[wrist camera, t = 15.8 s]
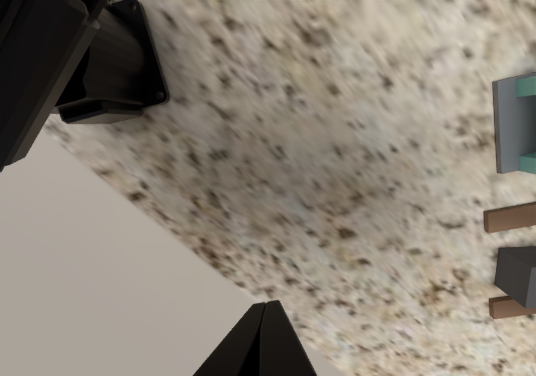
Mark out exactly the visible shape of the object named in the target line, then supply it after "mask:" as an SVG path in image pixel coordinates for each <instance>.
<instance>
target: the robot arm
mask: <svg viewBox="0 0 536 376" xmlns="http://www.w3.org/2000/svg"><path fill="white" fill-rule="evenodd" d="M107 1H108V2H110V0H0V172H2V170H3V168H4V167H5V166H7V165H10V164H12V163H14V162H16V161H18V160H20V159H22V158H24V157H25V156H26V155H27V153H28V151H29V150H30V148H31V146H32V144H33V143H34V140H35V139H36V137H37V135H38V134H39V132H40V130H41V129H42V127H43V125H44V123H45V122H46V120H47V118H48V116H49V115H50V114H60V117H61V119H62V121H63V122H65V123H67V124H111V123H115V122H119V121H123V120H126V119H130V118H134V117H138V116H141V115H142V114H143V109H146V108H149V107H153V106H157V105H161V104H165V103H167V102H168V100H169V92H168V89H167V86H166V82H165V79H164V76H163V72H162V69H161V66H160V62H159V59H158V56H157V52H156V49H155V46H154V42H153V39H152V36H151V32H150V29H149V26H148V22H147V19H146V16H145V12H144V9H143V6H142V4H141V3H140V2H139V1H138V0H122V1H119V2H116V3H113V4H109V3H108V2H107ZM134 5H136V10H135V11H132V7H133V6H134ZM161 92H162V93H163V99H160V98H159V94H160V93H161ZM193 376H317V374H316V372H315V370H314V368H313V366H312V364H311V362H310V361H309V358H308V356H307V354H306V352H305V350H304V348H303V346H302V344H301V342H300V340H299V338H298V336H297V334H296V332H295V330H294V328H293V326H292V324H291V322H290V320H289V319H288V317H287V315H286V313H285V311H284V309H283V307H282V305H281V303H280V301H279V300H275V301H269V302H267V303H265V302H262V303H256V304H253V305H252V306H251V307H250V308H249V309H248V311H247V312H246V313H245V314H244V315H243V317H242V318H241V319H240V320H239V321H238V323H237V324H236V325H235V326H234V327H233V328H232V330H231V331H230V332H229V333H228V334H227V336H226V337H225V338H224V339H223V340H222V341H221V343H220V344H219V345H218V346H217V348H216V349H215V350H214V351H213V352H212V353H211V354H210V356H209V357H208V358H207V359H206V360H205V362H204V363H203V364H202V365H201V367H200V368H199V369H198V370H197V371H196V372H195V374H194V375H193Z"/></svg>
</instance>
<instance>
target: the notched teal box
mask: <svg viewBox="0 0 536 376" xmlns="http://www.w3.org/2000/svg"><path fill="white" fill-rule="evenodd" d="M515 84H516V97H521V96H530V95H536V76H532V77H528V78H524V79H520V80H516V81H515ZM519 171H523V172H528V173H533V174H536V152H535V153H530V154H526V155H521V156H519Z"/></svg>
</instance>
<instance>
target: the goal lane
mask: <svg viewBox="0 0 536 376" xmlns="http://www.w3.org/2000/svg"><path fill="white" fill-rule="evenodd" d="M484 222H485V231H486V232H488V233H493V232H499V231H505V230H510V229H516V228H522V227H528V226H533V225H536V202H534V203H528V204H523V205H517V206H512V207H506V208H501V209H496V210H490V211H485V212H484ZM489 303H490V316H491V317H492V318H493V319H500V318H507V317H514V316H522V315H529V314H536V308H526V309H525V308H524V307H523V306H521V305H520V304H519V303H518V302H516V301H515V300H514V299H512V298H511V297H510V296H507V297H500V298H493V299H489Z"/></svg>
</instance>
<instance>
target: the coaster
mask: <svg viewBox="0 0 536 376" xmlns="http://www.w3.org/2000/svg"><path fill="white" fill-rule="evenodd" d="M532 76H536V72H533V73H529V74H525V75H521V76H516V77H512V78H508V79H504V80H500V81H495V82H493V95H494V116H495V136H496V157H497V173H501V174H503V173H508V172H513V171H518V170H519V156H521V155H526V154H530V153H535V152H536V95H530V96H521V97H516V84H515V81H516V80H520V79H524V78H528V77H532Z"/></svg>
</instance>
